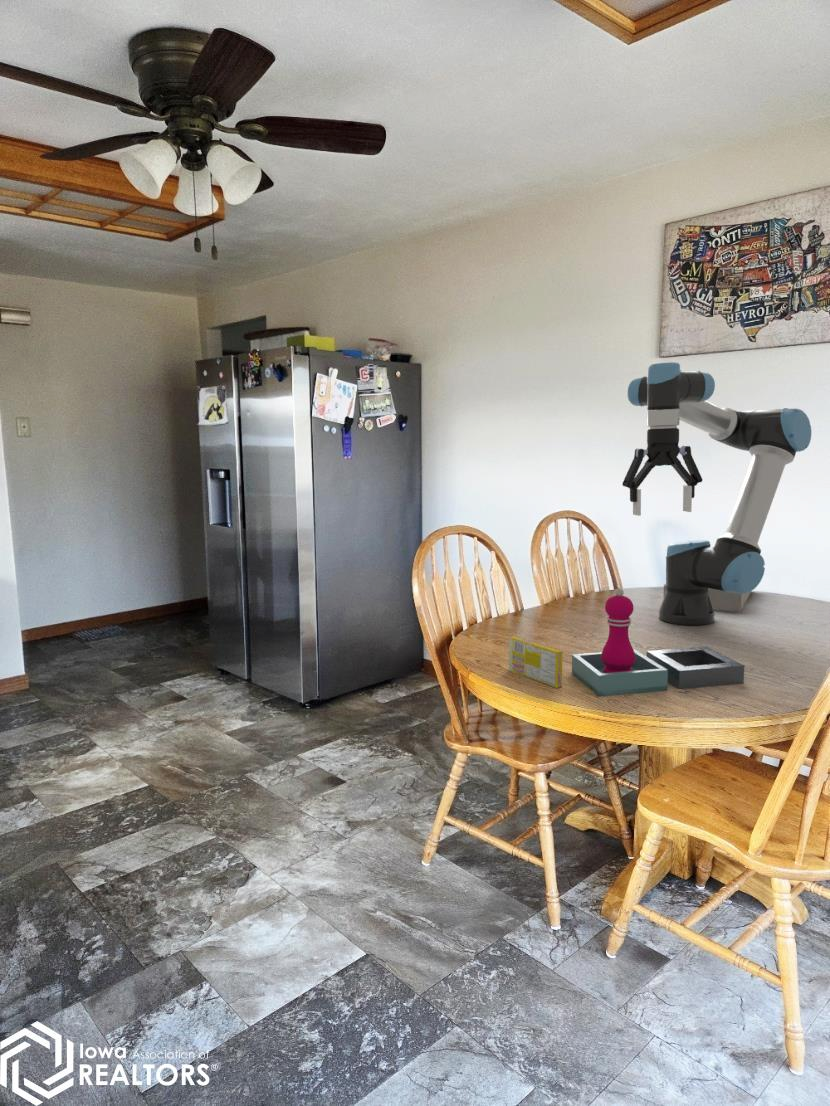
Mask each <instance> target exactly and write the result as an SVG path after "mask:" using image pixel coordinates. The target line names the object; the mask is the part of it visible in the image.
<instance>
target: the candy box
mask: <svg viewBox="0 0 830 1106" xmlns="http://www.w3.org/2000/svg"><path fill="white" fill-rule="evenodd" d="M508 671H510V672H513V673H516V674H518V675H521V676H523V677H527V678H529V679H531V680H534V681H536V682H540V683H542V684H545V685H548V686H550V687H552V688H555V689H559V688H561V687H562V685H563V684H562V683H563V682H562V681H563V650H560V649H557V648H554V647H553V648H552V647H550V646H547V645H544V644H541V643H537V642H535V641H531V640H527V639H526V638H525V639H524V638H521V637H518V636H516V635H515V636H514V635H512V636H509V637H508Z"/></svg>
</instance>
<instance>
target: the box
mask: <svg viewBox="0 0 830 1106" xmlns="http://www.w3.org/2000/svg"><path fill="white" fill-rule="evenodd" d="M665 593H666V583H665V584H663V597H664V596H665ZM751 593H752V591H750V592H748V593H745V594H739V593H728V592H725V591H720V590H715V589H709V588H708V595H709V598H710V601H711V605H712V608H713V611H714V610H715V611H716V610H717V611H725V612H728V611H729V612H736V613H737V612H739V613H741V611H742V609H743V607H744V605H745V604H746V602H747V600H748V598H749V596H750V595H751Z"/></svg>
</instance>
